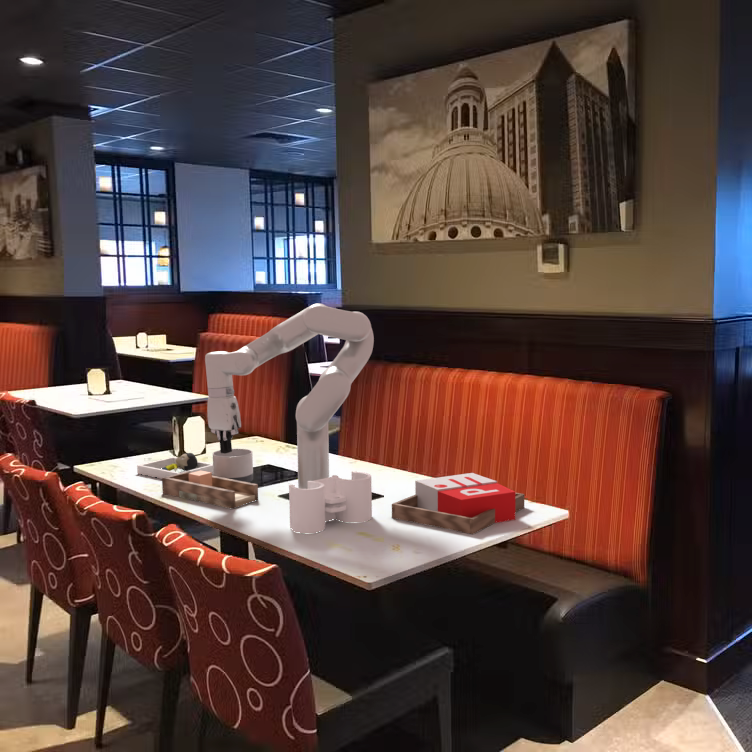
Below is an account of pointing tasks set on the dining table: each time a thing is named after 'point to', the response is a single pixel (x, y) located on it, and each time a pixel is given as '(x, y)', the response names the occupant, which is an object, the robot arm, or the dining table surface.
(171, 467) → the toy
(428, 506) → the red and white box
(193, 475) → the block
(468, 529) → the logo tray
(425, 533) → the dining table surface
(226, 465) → the planter
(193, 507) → the dining table surface
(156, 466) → the toy tray
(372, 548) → the dining table surface
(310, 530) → the bracket
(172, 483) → the long wooden tray
